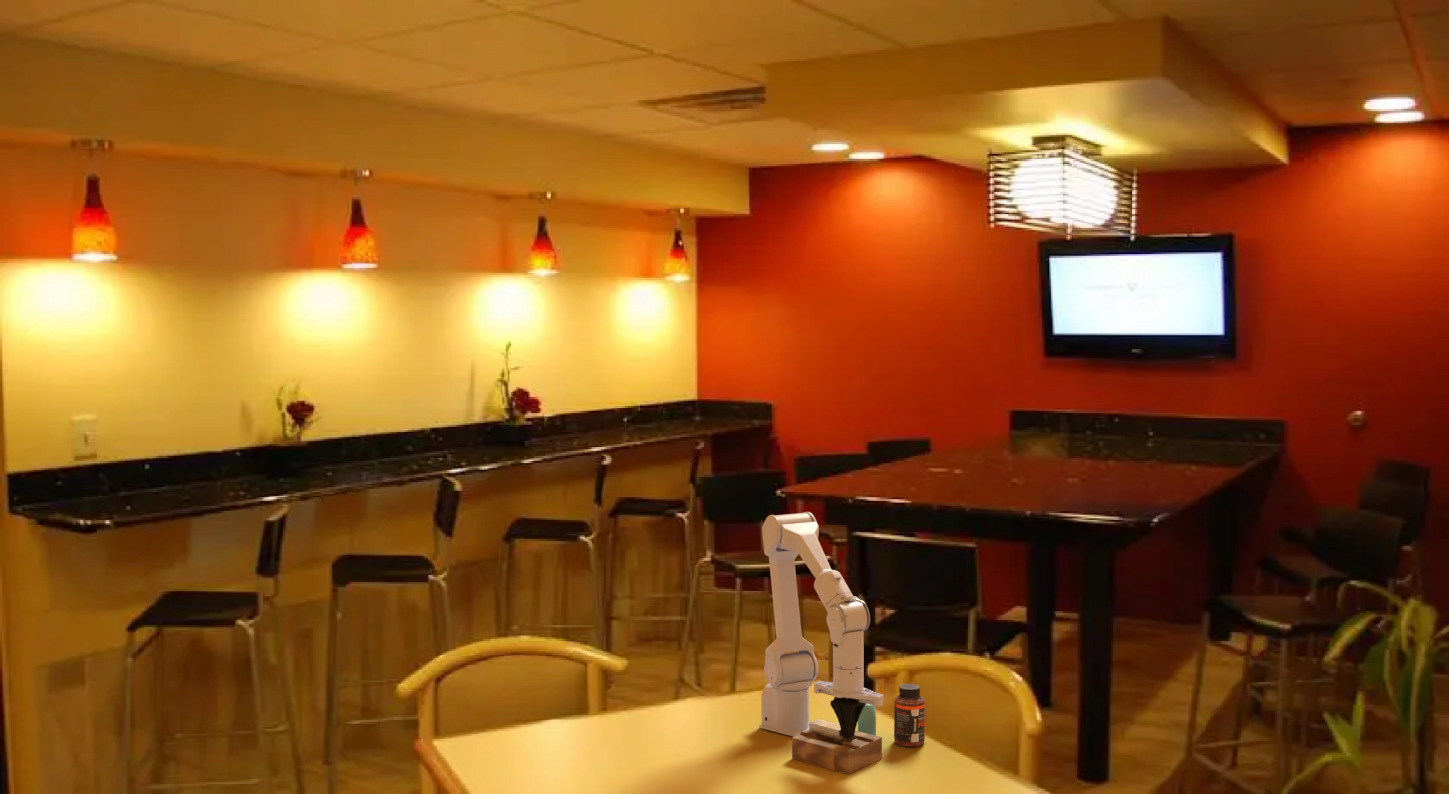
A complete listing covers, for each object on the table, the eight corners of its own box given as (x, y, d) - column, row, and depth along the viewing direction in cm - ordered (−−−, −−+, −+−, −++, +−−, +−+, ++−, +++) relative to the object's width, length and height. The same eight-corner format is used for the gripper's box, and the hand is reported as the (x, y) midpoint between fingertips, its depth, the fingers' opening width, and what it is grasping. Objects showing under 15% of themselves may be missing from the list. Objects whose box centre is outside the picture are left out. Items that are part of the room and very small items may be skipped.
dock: (792, 758, 237) (791, 735, 237) (826, 743, 245) (826, 720, 245) (848, 774, 229) (848, 750, 228) (881, 758, 237) (881, 734, 237)
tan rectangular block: (809, 732, 239) (809, 722, 239) (818, 728, 241) (818, 719, 241) (839, 739, 235) (839, 730, 234) (848, 735, 237) (848, 726, 237)
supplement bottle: (924, 749, 242) (924, 691, 241) (893, 747, 243) (893, 690, 242) (925, 739, 248) (925, 682, 247) (895, 737, 249) (895, 681, 248)
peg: (854, 738, 248) (854, 704, 247) (864, 734, 251) (864, 700, 250) (869, 742, 246) (869, 707, 245) (879, 738, 248) (879, 703, 248)
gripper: (804, 663, 236) (804, 734, 237) (868, 677, 226) (868, 751, 227) (826, 655, 241) (826, 724, 242) (889, 669, 232) (889, 740, 233)
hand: (848, 737), depth 235 cm, fingers closed
